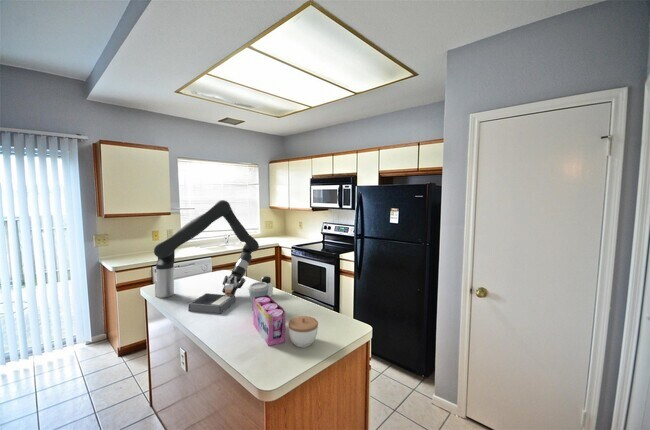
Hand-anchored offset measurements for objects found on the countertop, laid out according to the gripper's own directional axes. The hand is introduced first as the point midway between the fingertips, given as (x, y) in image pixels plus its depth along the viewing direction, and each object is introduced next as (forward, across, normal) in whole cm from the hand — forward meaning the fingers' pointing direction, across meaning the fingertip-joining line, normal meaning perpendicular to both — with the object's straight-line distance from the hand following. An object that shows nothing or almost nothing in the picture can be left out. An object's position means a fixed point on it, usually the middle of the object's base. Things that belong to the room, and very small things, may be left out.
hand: (227, 293), depth 162 cm
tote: (+12, -1, -5) cm, 13 cm away
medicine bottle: (-8, +16, +15) cm, 23 cm away
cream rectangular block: (+10, +4, -5) cm, 12 cm away
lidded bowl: (+22, +60, -15) cm, 66 cm away
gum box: (+20, +41, -13) cm, 48 cm away
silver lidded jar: (+2, 0, +5) cm, 5 cm away
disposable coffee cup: (+8, +25, -1) cm, 26 cm away
